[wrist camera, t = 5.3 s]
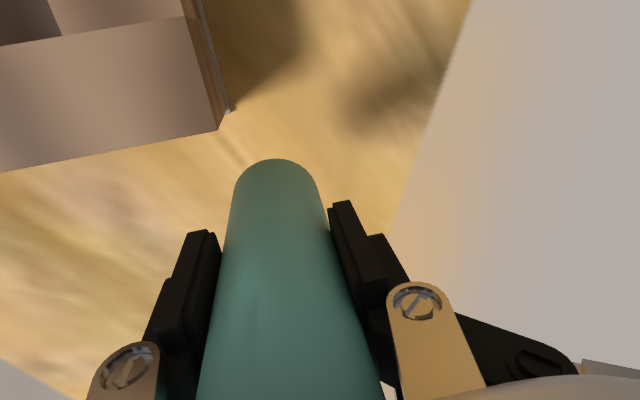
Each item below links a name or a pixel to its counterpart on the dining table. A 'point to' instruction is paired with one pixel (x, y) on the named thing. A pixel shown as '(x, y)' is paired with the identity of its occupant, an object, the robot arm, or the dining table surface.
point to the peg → (283, 300)
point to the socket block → (103, 77)
